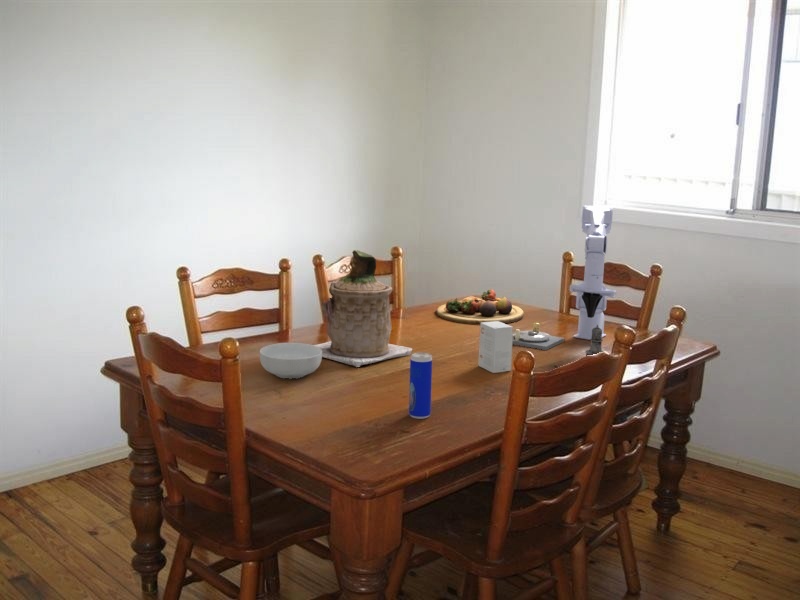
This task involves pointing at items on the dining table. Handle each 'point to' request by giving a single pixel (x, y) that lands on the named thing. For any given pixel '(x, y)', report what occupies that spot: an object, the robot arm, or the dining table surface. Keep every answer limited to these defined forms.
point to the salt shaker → (595, 342)
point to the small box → (495, 346)
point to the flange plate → (533, 334)
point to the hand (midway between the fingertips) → (590, 317)
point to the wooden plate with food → (480, 309)
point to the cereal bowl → (290, 359)
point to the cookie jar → (359, 317)
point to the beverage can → (420, 385)
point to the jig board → (539, 345)
